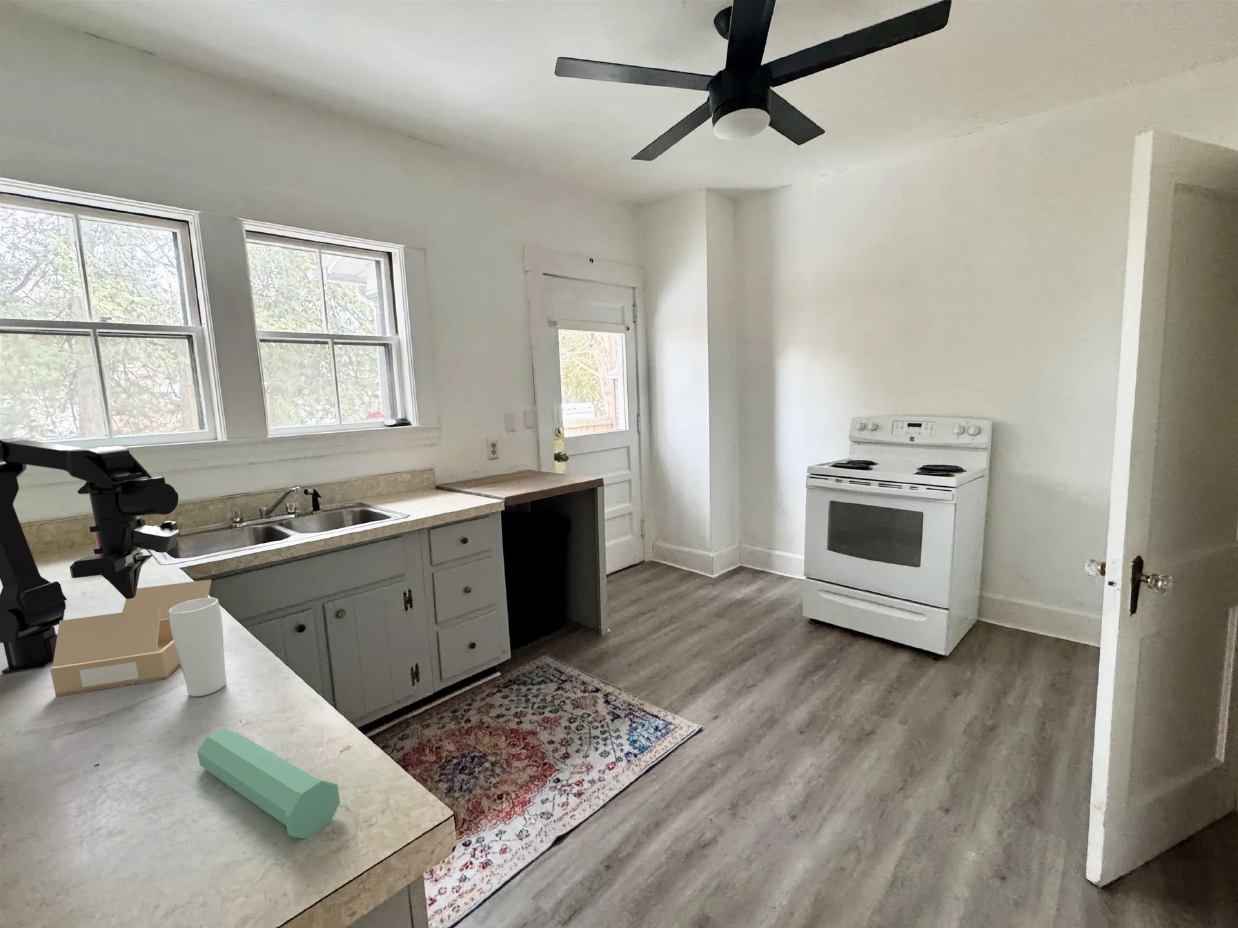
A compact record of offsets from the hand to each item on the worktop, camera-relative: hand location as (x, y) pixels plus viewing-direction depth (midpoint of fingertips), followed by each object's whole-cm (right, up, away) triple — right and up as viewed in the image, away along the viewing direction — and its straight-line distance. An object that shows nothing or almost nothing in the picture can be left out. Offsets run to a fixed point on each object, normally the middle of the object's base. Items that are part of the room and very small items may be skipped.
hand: (130, 598), depth 103 cm
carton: (+1, -13, +2) cm, 13 cm away
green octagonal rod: (+47, -16, -34) cm, 60 cm away
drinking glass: (+21, -13, -9) cm, 27 cm away
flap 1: (+2, -5, -7) cm, 9 cm away
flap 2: (-3, -3, +11) cm, 12 cm away
